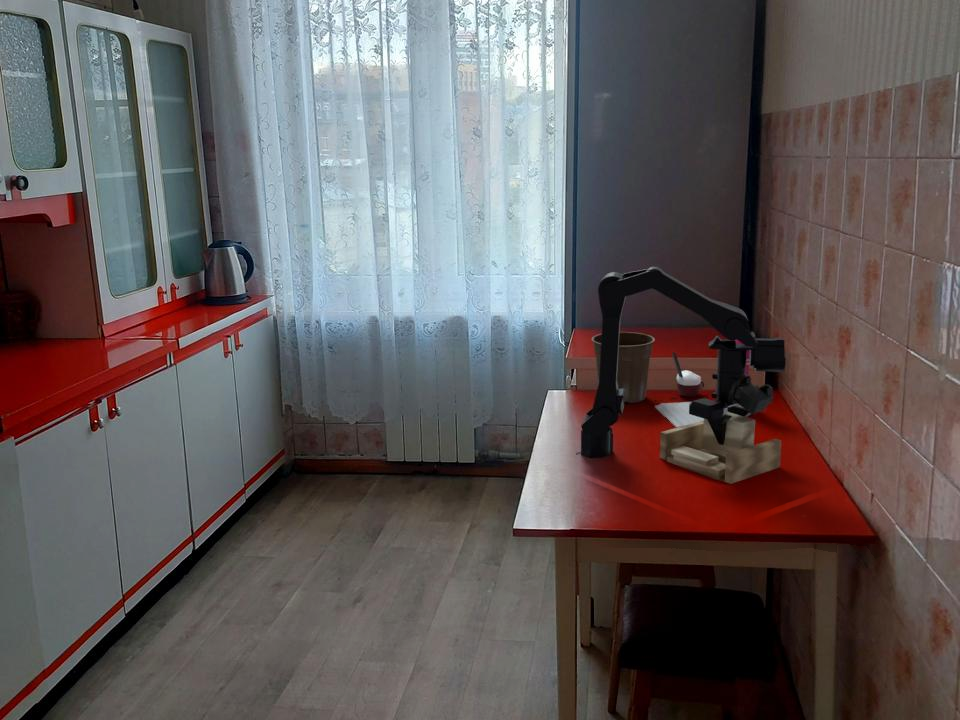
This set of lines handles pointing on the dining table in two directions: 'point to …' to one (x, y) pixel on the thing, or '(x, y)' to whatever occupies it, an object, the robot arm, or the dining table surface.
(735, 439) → the beige wooden block
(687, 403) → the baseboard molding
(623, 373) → the plant pot
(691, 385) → the cocoa
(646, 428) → the dining table surface
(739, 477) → the rack
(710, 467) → the offcut stack
